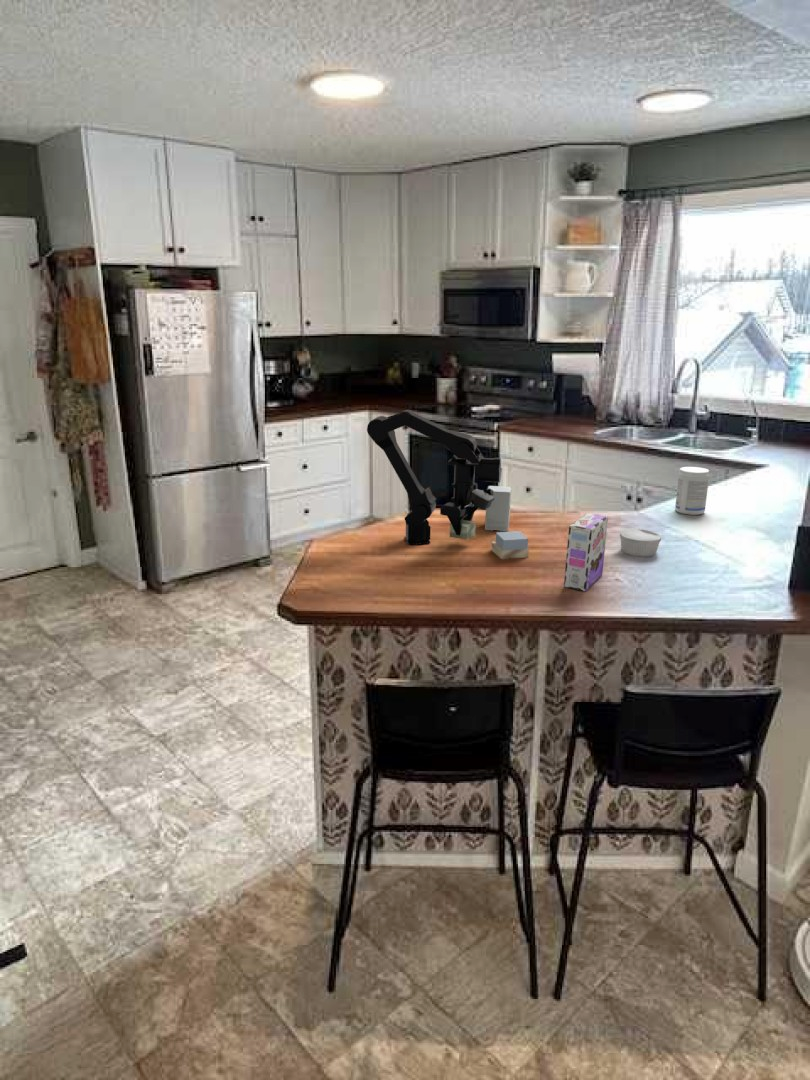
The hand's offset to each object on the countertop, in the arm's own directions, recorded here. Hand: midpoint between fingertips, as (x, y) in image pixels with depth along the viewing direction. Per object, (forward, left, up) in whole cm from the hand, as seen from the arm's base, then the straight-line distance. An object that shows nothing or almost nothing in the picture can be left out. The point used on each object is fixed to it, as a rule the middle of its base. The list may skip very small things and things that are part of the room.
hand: (462, 532), depth 214 cm
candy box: (+22, -34, -4) cm, 41 cm away
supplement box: (+16, +14, -4) cm, 22 cm away
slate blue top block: (+11, -10, -1) cm, 15 cm away
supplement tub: (+86, +18, -4) cm, 88 cm away
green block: (0, 0, -1) cm, 1 cm away
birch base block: (+11, -10, -4) cm, 15 cm away
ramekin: (+48, -16, -4) cm, 51 cm away
